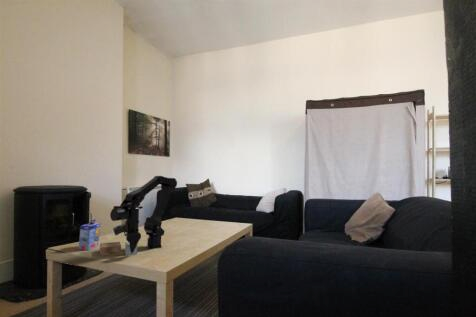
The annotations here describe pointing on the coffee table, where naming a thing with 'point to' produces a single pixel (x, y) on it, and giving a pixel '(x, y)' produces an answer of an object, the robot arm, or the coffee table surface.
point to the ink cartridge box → (89, 235)
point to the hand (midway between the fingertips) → (131, 250)
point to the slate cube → (127, 249)
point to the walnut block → (110, 248)
